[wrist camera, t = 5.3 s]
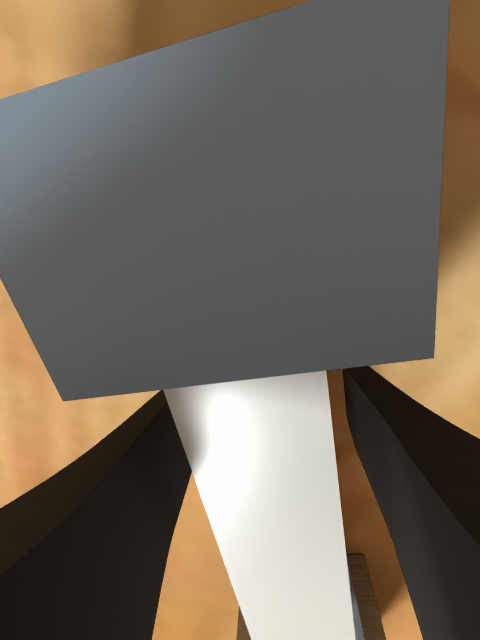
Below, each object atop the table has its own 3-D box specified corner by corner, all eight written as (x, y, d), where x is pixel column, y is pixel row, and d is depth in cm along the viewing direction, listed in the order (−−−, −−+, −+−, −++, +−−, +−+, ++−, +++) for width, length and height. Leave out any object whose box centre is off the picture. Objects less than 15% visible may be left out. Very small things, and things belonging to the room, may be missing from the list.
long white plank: (289, 157, 7) (304, 129, 4) (343, 594, 14) (364, 709, 11) (159, 188, 8) (85, 183, 5) (271, 593, 15) (271, 703, 12)
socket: (339, 105, 8) (452, -46, 3) (350, 274, 9) (434, 358, 5) (113, 163, 9) (-78, 124, 4) (159, 305, 10) (62, 401, 6)
